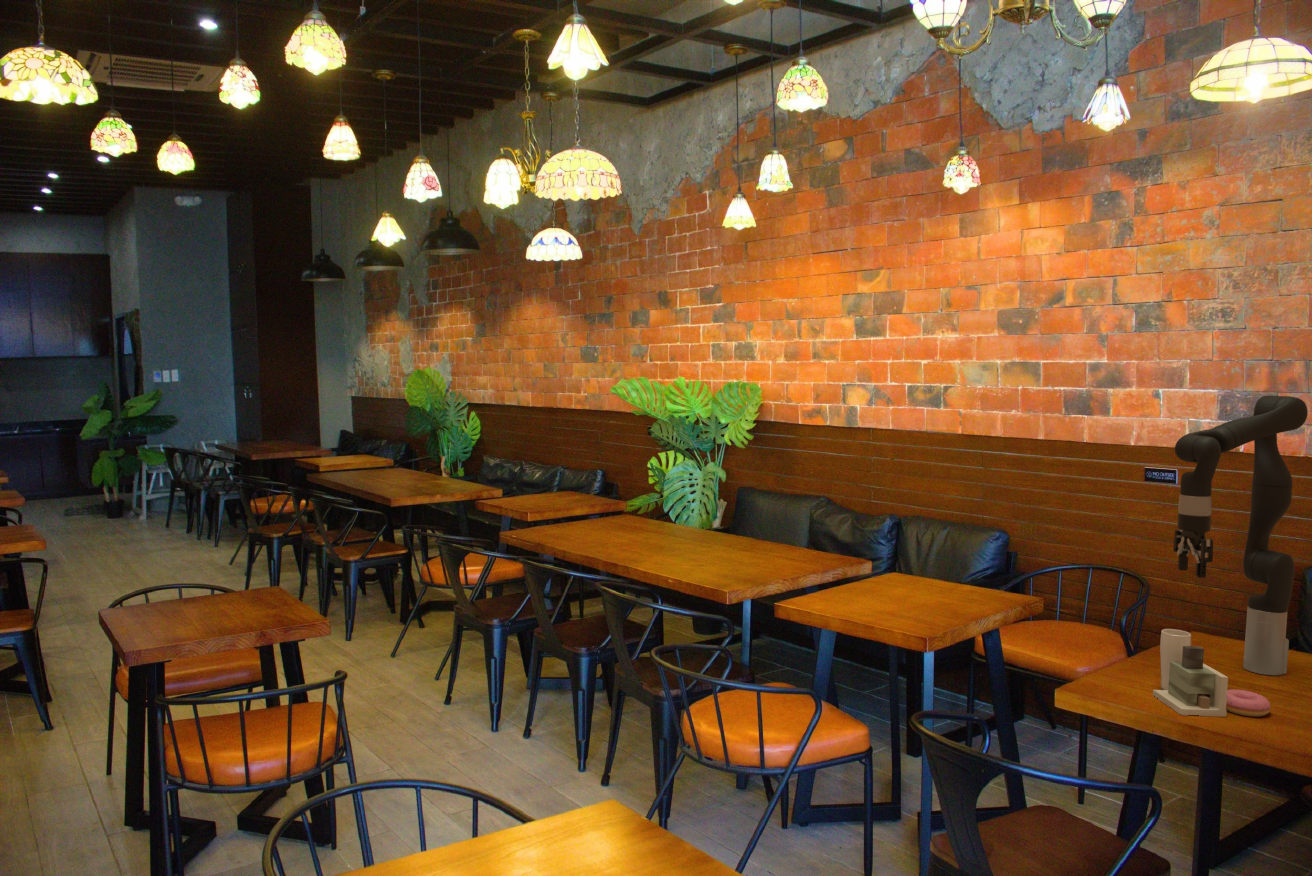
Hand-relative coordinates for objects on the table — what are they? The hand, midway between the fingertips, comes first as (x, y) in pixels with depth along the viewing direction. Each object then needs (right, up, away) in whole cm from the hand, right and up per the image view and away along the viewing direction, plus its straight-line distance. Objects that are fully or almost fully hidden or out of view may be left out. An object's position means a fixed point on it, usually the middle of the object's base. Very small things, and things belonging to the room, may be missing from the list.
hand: (1191, 573), depth 250 cm
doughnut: (+2, -31, -19) cm, 36 cm away
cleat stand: (-9, -30, -17) cm, 36 cm away
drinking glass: (-8, -29, -5) cm, 31 cm away
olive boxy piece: (-10, -28, -17) cm, 34 cm away
